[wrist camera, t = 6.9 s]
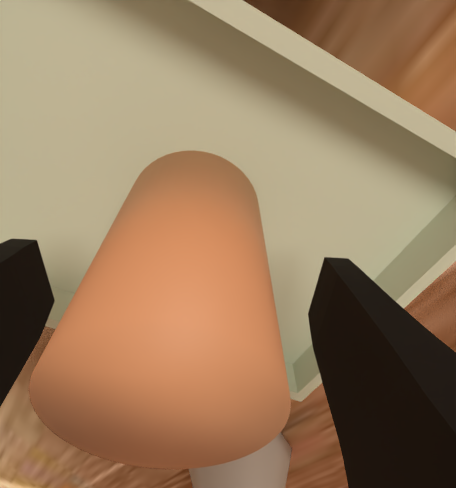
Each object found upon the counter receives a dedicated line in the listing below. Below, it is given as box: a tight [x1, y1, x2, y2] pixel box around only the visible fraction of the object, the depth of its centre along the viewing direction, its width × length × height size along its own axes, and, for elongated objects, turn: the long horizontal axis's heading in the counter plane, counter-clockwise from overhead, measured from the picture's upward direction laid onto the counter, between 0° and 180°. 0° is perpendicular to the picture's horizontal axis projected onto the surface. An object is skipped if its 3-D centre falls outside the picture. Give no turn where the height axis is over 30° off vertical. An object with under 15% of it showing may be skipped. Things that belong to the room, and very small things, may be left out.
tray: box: [0, 0, 456, 402], centre depth 11 cm, size 16×12×2 cm
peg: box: [29, 150, 291, 469], centre depth 9 cm, size 4×4×7 cm
